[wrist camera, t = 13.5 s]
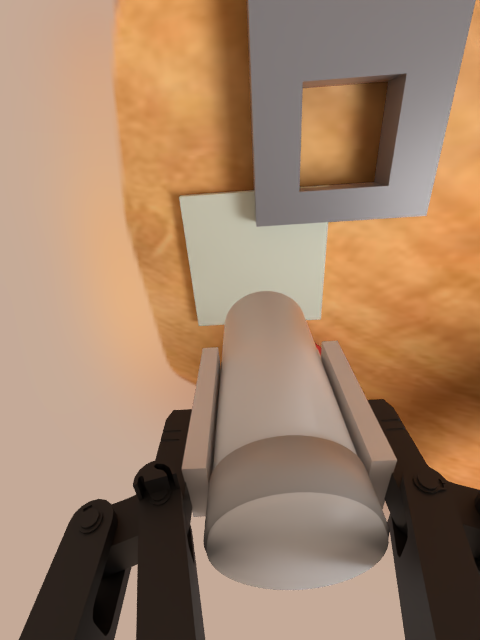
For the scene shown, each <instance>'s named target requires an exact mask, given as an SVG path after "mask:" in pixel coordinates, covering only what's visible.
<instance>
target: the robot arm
mask: <svg viewBox="0 0 480 640" xmlns="http://www.w3.org/2000/svg"><path fill="white" fill-rule="evenodd" d="M321 361H322V364H323V366H324V369H325V372H326V374H327V377H328V379H329V382H330V385H331V387H332V390H333V393H334V395H335V398H336V400H337V403H338V406H339V408H340V411H341V414H342V416H343V419H344V421H345V424H346V427H347V429H348V432H349V435H350V437H351V440H352V442H353V445H354V448H355V450H356V453H357V456H358V457H359V458H360V459H361V461H362V462H363V464H364V465H365V467H366V470H367V472H368V475H369V478H370V480H371V483H372V485H373V488H374V490H375V493H376V495H377V498H378V501H379V503H380V506H381V508H382V509H383V505H384V502H385V501H386V504H387V506H388V509H389V511H390V516H389V519H388V522H387V524H388V527H389V532H390V535H391V542H392V549H393V556H394V563H395V570H396V578H397V584H398V592H399V598H400V606H401V613H402V619H403V627H404V634H405V640H480V490H478V489H474V488H470V487H466V486H462V485H458V484H455V483H452V482H449V481H447V480H446V479H445V478H444V477H443V476H442V475H441V474H440V473H438V472H437V471H435V470H433V469H432V468H430V467H429V466H428V465H427V464H426V462H425V460H424V459H423V457H422V455H421V454H420V452H419V450H418V449H417V447H416V445H415V443H414V442H413V440H412V438H411V437H410V435H409V433H408V432H407V430H406V429H405V426H404V425H403V423H402V421H400V418H399V416H398V414H397V413H396V411H395V409H394V408H393V407H392V406H391V405H389V404H388V403H387V402H386V401H385V400H384V399H379V400H367V399H366V397H365V395H364V393H363V391H362V389H361V387H360V385H359V383H358V381H357V379H356V377H355V375H354V373H353V371H352V369H351V367H350V365H349V363H348V361H347V359H346V357H345V355H344V353H343V351H342V349H341V347H340V345H339V343H338V341H324V342H322V347H321ZM220 375H221V368H220V360H219V351H218V347H214V348H203V350H202V356H201V362H200V367H199V373H198V379H197V384H196V390H195V396H194V402H193V407H192V409H189V410H173V412H172V413H171V414H170V415H169V417H168V418H167V420H166V422H165V426H164V430H163V434H162V437H161V442H160V445H159V448H158V452H157V456H156V460H155V461H153V462H150V463H148V464H146V465H145V466H144V467H143V468H141V469H140V470H139V472H138V473H137V475H136V476H135V478H134V483H133V487H134V489H135V492H136V495H135V496H133V497H130V498H128V499H125V500H123V501H120V502H117V503H115V504H112V505H111V504H110V503H109V502H108V501H107V500H102V499H97V500H93V501H90V502H88V503H86V504H85V505H83V506H82V507H81V508H80V509H79V510H78V511H77V512H75V514H74V515H73V517H72V519H71V520H70V522H69V524H68V526H67V529H66V531H65V533H64V536H63V538H62V541H61V543H60V545H59V547H58V550H57V552H56V554H55V557H54V559H53V561H52V564H51V566H50V568H49V571H48V573H47V575H46V578H45V580H44V582H43V585H42V587H41V589H40V592H39V594H38V596H37V599H36V601H35V603H34V606H33V608H32V610H31V612H30V615H29V617H28V619H27V622H26V624H25V627H24V629H23V631H22V634H21V636H20V638H19V640H114V638H115V634H116V629H117V625H118V621H119V617H120V613H121V608H122V604H123V600H124V596H125V592H126V587H127V583H128V579H129V574H130V570H131V567H132V566H134V565H137V564H138V580H137V632H136V640H205V634H204V627H203V618H202V610H201V602H200V594H199V585H198V578H197V568H196V560H195V552H194V544H193V536H192V529H191V526H190V520H191V513H192V512H193V516H194V517H198V516H206V508H207V497H208V486H209V479H210V476H211V474H212V472H213V462H214V449H215V437H216V425H217V412H218V400H219V387H220Z"/></svg>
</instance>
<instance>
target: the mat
mask: <svg viewBox="0 0 480 640" xmlns="http://www.w3.org/2000/svg"><path fill="white" fill-rule="evenodd" d="M315 187H329V185H321V186H307V187H299V189H300V188H315ZM179 200H180V207H181V213H182V220H183V226H184V233H185V239H186V246H187V252H188V259H189V265H190V272H191V279H192V285H193V292H194V298H195V305H196V311H197V318H198V324H199V326H208V325H225V319H226V316H227V314H228V312H229V310H230V309H231V307H232V306H233V305H234V304H235V303H236V302H237V301H238V300H240V299H241V298H243V297H244V296H246V295H249V294H251V293H255V292H259V291H274V292H278V293H282V294H284V295H286V296H288V297H290V298H291V299H293V300H294V301H295V302H296V303H297V304H298V305H299V306H300V308H301V310H302V311H303V314H304V316H305V319H306V320H317V319H321V309H322V296H323V283H324V270H325V257H326V243H327V230H328V222H322V223H307V224H291V225H276V226H261V227H256V222H255V196H254V190H249V191H235V192H220V193H206V194H191V195H181V196H179Z"/></svg>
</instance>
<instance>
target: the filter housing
mask: <svg viewBox="0 0 480 640" xmlns="http://www.w3.org/2000/svg"><path fill="white" fill-rule="evenodd" d="M475 1H476V0H247V25H248V51H249V77H250V103H251V129H252V154H253V180H254V196H255V222H256V227H261V226H276V225H291V224H307V223H322V222H337V221H353V220H368V219H383V218H399V217H414V216H426V215H427V210H428V206H429V202H430V197H431V193H432V188H433V184H434V180H435V175H436V171H437V167H438V162H439V158H440V154H441V149H442V145H443V140H444V136H445V132H446V127H447V123H448V119H449V114H450V110H451V106H452V101H453V97H454V92H455V88H456V84H457V79H458V75H459V71H460V66H461V62H462V58H463V53H464V49H465V44H466V40H467V36H468V31H469V27H470V23H471V18H472V14H473V9H474V5H475ZM387 81H388V86H387V93H386V100H385V108H384V115H383V122H382V129H381V136H380V143H379V150H378V157H377V165H376V172H375V179H374V182H365V183H350V184H336V185H329V187H315V188H300V189H299V187H300V153H301V119H302V88H311V87H324V86H337V85H349V84H362V83H374V82H387Z"/></svg>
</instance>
